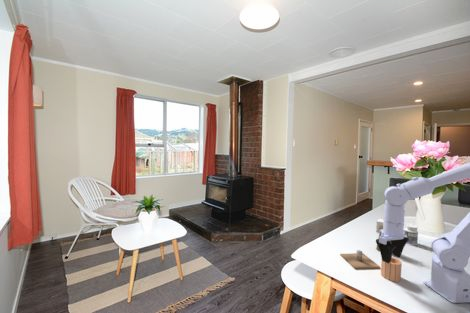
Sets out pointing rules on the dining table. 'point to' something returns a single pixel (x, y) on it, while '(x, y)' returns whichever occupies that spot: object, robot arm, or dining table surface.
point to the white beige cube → (379, 222)
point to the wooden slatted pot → (391, 269)
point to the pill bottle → (411, 234)
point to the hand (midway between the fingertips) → (391, 258)
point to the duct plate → (361, 263)
